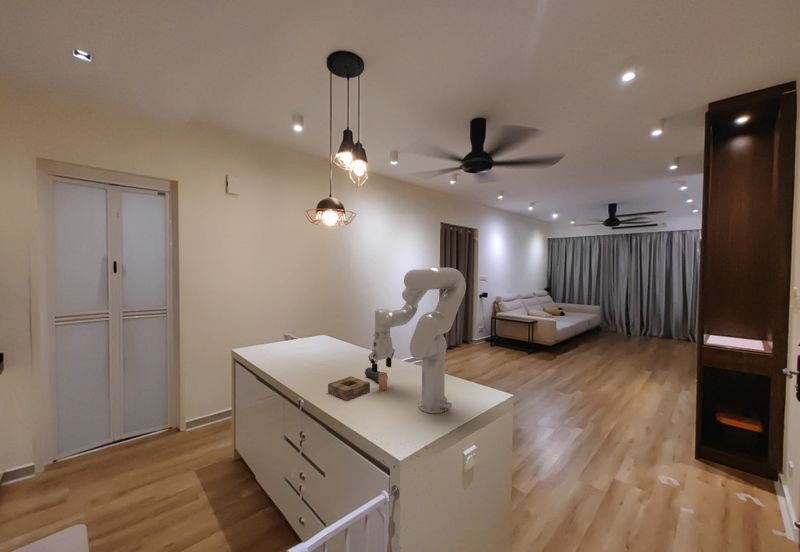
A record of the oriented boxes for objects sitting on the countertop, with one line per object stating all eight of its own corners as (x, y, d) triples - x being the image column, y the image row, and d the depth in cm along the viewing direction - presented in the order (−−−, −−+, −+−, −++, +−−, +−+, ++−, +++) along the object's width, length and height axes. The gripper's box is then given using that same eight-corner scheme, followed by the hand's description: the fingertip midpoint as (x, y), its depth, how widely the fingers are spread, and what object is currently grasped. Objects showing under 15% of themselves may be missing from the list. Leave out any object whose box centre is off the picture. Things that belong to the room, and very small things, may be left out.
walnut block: (369, 391, 150) (369, 382, 150) (346, 401, 139) (346, 391, 139) (351, 385, 159) (351, 376, 159) (328, 393, 148) (328, 383, 148)
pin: (388, 389, 152) (388, 373, 152) (383, 392, 149) (383, 375, 149) (383, 387, 155) (382, 371, 155) (377, 390, 152) (377, 373, 152)
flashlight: (363, 377, 171) (363, 367, 171) (372, 375, 175) (372, 365, 175) (379, 385, 159) (378, 374, 159) (387, 382, 162) (387, 372, 162)
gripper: (374, 338, 143) (374, 375, 144) (399, 333, 156) (399, 366, 157) (363, 336, 148) (363, 371, 149) (388, 330, 161) (388, 363, 161)
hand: (381, 369), depth 153 cm, fingers open, 9 cm apart
